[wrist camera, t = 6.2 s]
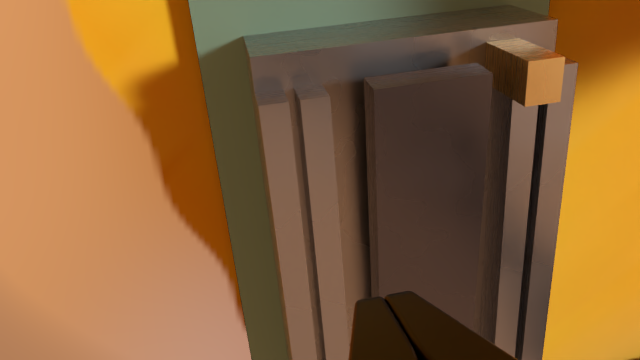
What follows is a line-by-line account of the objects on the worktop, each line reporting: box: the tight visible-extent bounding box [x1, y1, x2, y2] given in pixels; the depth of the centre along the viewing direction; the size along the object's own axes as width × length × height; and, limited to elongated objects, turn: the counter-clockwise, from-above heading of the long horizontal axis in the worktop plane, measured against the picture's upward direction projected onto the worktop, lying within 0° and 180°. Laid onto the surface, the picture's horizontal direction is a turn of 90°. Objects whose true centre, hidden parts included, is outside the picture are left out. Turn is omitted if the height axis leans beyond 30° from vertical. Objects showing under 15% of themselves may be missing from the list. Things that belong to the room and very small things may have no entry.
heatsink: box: [243, 4, 578, 360], centre depth 20 cm, size 16×9×5 cm, turn 5°
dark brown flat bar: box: [364, 63, 493, 330], centre depth 18 cm, size 14×4×1 cm, turn 5°
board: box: [188, 0, 550, 360], centre depth 22 cm, size 19×12×1 cm, turn 5°
